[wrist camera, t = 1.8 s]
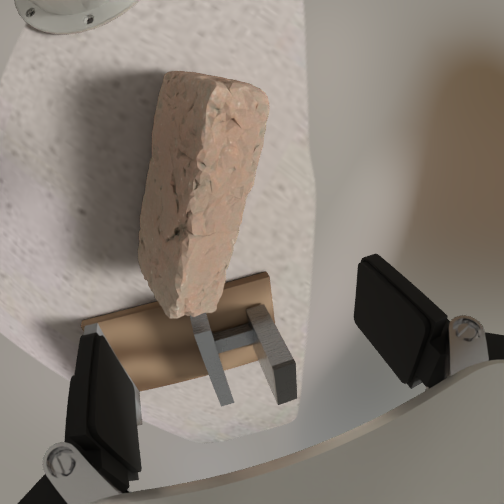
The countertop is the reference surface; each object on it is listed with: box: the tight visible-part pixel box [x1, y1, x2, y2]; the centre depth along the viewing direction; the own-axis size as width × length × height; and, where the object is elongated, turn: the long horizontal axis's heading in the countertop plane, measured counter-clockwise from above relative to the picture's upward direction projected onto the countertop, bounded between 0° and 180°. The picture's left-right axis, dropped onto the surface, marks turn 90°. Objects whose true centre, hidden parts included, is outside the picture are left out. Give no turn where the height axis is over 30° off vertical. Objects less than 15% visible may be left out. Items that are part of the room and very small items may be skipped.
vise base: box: [81, 272, 275, 425], centre depth 31 cm, size 12×20×6 cm, turn 97°
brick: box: [138, 71, 269, 318], centre depth 21 cm, size 17×8×5 cm
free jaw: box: [190, 304, 297, 406], centre depth 30 cm, size 12×8×8 cm, turn 8°
